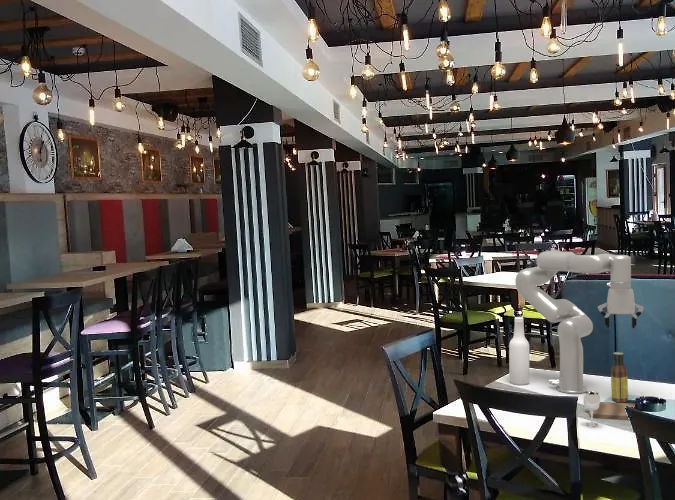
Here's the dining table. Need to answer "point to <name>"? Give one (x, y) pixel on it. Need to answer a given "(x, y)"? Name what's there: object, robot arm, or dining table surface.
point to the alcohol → (519, 355)
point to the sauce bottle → (619, 379)
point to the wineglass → (591, 404)
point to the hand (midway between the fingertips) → (620, 327)
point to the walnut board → (611, 411)
